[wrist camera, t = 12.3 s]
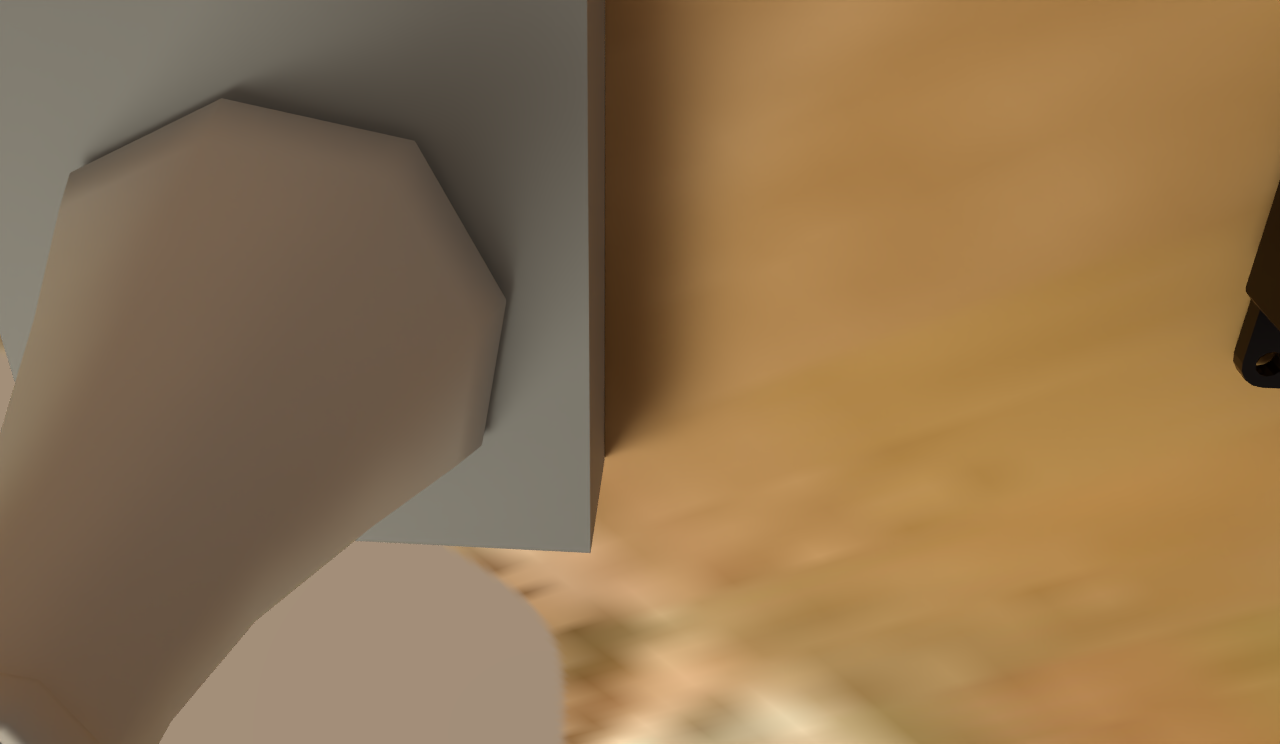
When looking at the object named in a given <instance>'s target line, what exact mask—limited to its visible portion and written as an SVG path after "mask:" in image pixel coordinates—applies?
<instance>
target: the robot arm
mask: <svg viewBox="0 0 1280 744" xmlns="http://www.w3.org/2000/svg"><path fill="white" fill-rule="evenodd" d="M1246 292H1247V294H1248V295H1249V297H1250V298H1251V301H1250V304H1249V307H1248V311H1247V314H1246V317H1245V320H1244V323H1243V326H1242V329H1241V332H1240V335H1239V338H1238V341H1237V345H1236V348H1235V351H1234V358H1233V362H1234V364H1235V366H1236V369H1237V370H1238V371H1239V373H1240V374H1241V375H1242V377H1243V378H1244V379H1245V380H1246V381H1247V382H1249V383H1250V384H1251V385H1253V386H1257V387H1262V388H1280V182H1279V185H1278V188H1277V191H1276V194H1275V197H1274V200H1273V204H1272V207H1271V210H1270V213H1269V216H1268V219H1267V222H1266V226H1265V229H1264V232H1263V235H1262V238H1261V241H1260V244H1259V247H1258V251H1257V254H1256V257H1255V260H1254V263H1253V266H1252V269H1251V273H1250V276H1249V279H1248V282H1247V285H1246ZM1271 352H1276V354H1275V356H1274V357H1273V359H1272V360H1271V361H1269V362H1268V363H1266V364H1263V365H1256V363H1257V361H1258V360H1259V358H1260V357H1262V356H1263V355H1265V354H1266V353H1271Z"/></svg>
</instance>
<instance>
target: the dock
mask: <svg viewBox="0 0 1280 744" xmlns="http://www.w3.org/2000/svg"><path fill="white" fill-rule="evenodd" d="M221 98H223V99H228V100H232V101H237V102H241V103H246V104H250V105H255V106H259V107H264V108H268V109H273V110H277V111H282V112H286V113H291V114H295V115H300V116H305V117H309V118H314V119H318V120H323V121H327V122H332V123H336V124H341V125H345V126H350V127H354V128H359V129H363V130H368V131H372V132H377V133H381V134H386V135H390V136H395V137H400V138H404V139H409V140H413V141H415V142H416V144H417V145H418V147H419V149H420V151H421V152H422V154H423V156H424V158H425V159H426V161H427V163H428V165H429V166H430V168H431V170H432V172H433V173H434V175H435V177H436V178H437V180H438V182H439V184H440V185H441V187H442V189H443V191H444V192H445V194H446V196H447V198H448V199H449V201H450V203H451V205H452V206H453V208H454V210H455V212H456V213H457V215H458V217H459V218H460V220H461V222H462V224H463V225H464V227H465V229H466V231H467V232H468V234H469V236H470V238H471V239H472V241H473V243H474V245H475V246H476V248H477V250H478V251H479V253H480V255H481V257H482V258H483V260H484V262H485V264H486V265H487V267H488V269H489V271H490V272H491V274H492V276H493V278H494V279H495V281H496V283H497V284H498V286H499V288H500V290H501V291H502V293H503V295H504V297H505V298H506V306H505V312H504V318H503V324H502V330H501V335H500V341H499V347H498V353H497V359H496V365H495V371H494V377H493V383H492V389H491V395H490V401H489V406H488V412H487V418H486V424H485V430H484V436H483V442H482V446H480V447H479V448H478V449H477V450H475V451H474V452H473V453H472V454H470V455H469V456H468V457H467V458H465V459H464V460H463V461H462V462H460V463H459V464H458V465H457V466H455V467H454V468H453V469H451V470H450V471H449V472H447V473H446V474H444V475H443V476H442V477H440V478H439V479H438V480H436V481H435V482H433V483H432V484H431V485H429V486H428V487H426V488H425V489H424V490H422V491H421V492H420V493H418V494H417V495H415V496H414V497H413V498H411V499H410V500H408V501H407V502H406V503H404V504H403V505H402V506H400V507H399V508H397V509H396V510H395V511H393V512H392V513H390V514H389V515H388V516H386V517H385V518H384V519H382V520H381V521H379V522H378V523H377V524H375V525H374V526H373V527H371V528H370V529H369V530H367V531H366V532H365V533H364V534H363V535H361V536H360V537H359V538H358V539H356V540H355V541H370V542H389V543H408V544H427V545H447V546H466V547H485V548H505V549H524V550H543V551H563V552H582V553H590V552H591V546H592V539H593V532H594V526H595V519H596V512H597V506H598V499H599V492H600V486H601V479H602V472H603V466H604V421H605V0H0V335H1V338H2V342H3V345H4V348H5V352H6V355H7V358H8V361H9V364H10V368H11V371H12V375H13V378H14V381H16V378H17V375H18V371H19V368H20V364H21V361H22V358H23V354H24V351H25V348H26V344H27V341H28V337H29V334H30V331H31V327H32V324H33V321H34V317H35V312H36V308H37V304H38V299H39V295H40V291H41V286H42V282H43V278H44V273H45V269H46V265H47V260H48V256H49V251H50V247H51V243H52V238H53V234H54V230H55V225H56V221H57V217H58V212H59V208H60V205H61V201H62V198H63V195H64V191H65V188H66V184H67V181H68V177H69V174H70V173H71V172H73V171H75V170H77V169H79V168H81V167H83V166H85V165H87V164H89V163H91V162H93V161H95V160H97V159H99V158H101V157H103V156H105V155H107V154H109V153H111V152H113V151H115V150H117V149H119V148H121V147H123V146H125V145H127V144H129V143H131V142H133V141H136V140H138V139H140V138H142V137H144V136H146V135H148V134H150V133H152V132H154V131H156V130H158V129H160V128H162V127H164V126H166V125H168V124H170V123H172V122H174V121H176V120H178V119H180V118H182V117H184V116H186V115H188V114H190V113H192V112H194V111H196V110H199V109H201V108H203V107H205V106H207V105H209V104H211V103H213V102H215V101H217V100H219V99H221Z"/></svg>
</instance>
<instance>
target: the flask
mask: <svg viewBox="0 0 1280 744" xmlns="http://www.w3.org/2000/svg"><path fill="white" fill-rule="evenodd" d="M505 306H506V298H505V297H504V295H503V293H502V291H501V290H500V288H499V286H498V284H497V283H496V281H495V279H494V278H493V276H492V274H491V272H490V271H489V269H488V267H487V265H486V264H485V262H484V260H483V258H482V257H481V255H480V253H479V251H478V250H477V248H476V246H475V245H474V243H473V241H472V239H471V238H470V236H469V234H468V232H467V231H466V229H465V227H464V225H463V224H462V222H461V220H460V218H459V217H458V215H457V213H456V212H455V210H454V208H453V206H452V205H451V203H450V201H449V199H448V198H447V196H446V194H445V192H444V191H443V189H442V187H441V185H440V184H439V182H438V180H437V178H436V177H435V175H434V173H433V172H432V170H431V168H430V166H429V165H428V163H427V161H426V159H425V158H424V156H423V154H422V152H421V151H420V149H419V147H418V145H417V144H416V142H415V141H413V140H409V139H404V138H400V137H395V136H390V135H386V134H381V133H377V132H372V131H368V130H363V129H359V128H354V127H350V126H345V125H341V124H336V123H332V122H327V121H323V120H318V119H314V118H309V117H305V116H300V115H295V114H291V113H286V112H282V111H277V110H273V109H268V108H264V107H259V106H255V105H250V104H246V103H241V102H237V101H232V100H228V99H223V98H221V99H219V100H217V101H215V102H213V103H211V104H209V105H207V106H205V107H203V108H201V109H199V110H196V111H194V112H192V113H190V114H188V115H186V116H184V117H182V118H180V119H178V120H176V121H174V122H172V123H170V124H168V125H166V126H164V127H162V128H160V129H158V130H156V131H154V132H152V133H150V134H148V135H146V136H144V137H142V138H140V139H138V140H136V141H133V142H131V143H129V144H127V145H125V146H123V147H121V148H119V149H117V150H115V151H113V152H111V153H109V154H107V155H105V156H103V157H101V158H99V159H97V160H95V161H93V162H91V163H89V164H87V165H85V166H83V167H81V168H79V169H77V170H75V171H73V172H71V173H70V174H69V177H68V181H67V184H66V188H65V191H64V195H63V198H62V201H61V205H60V208H59V212H58V217H57V221H56V225H55V230H54V234H53V238H52V243H51V247H50V251H49V256H48V260H47V265H46V269H45V273H44V278H43V282H42V286H41V291H40V295H39V299H38V304H37V308H36V312H35V317H34V321H33V324H32V327H31V331H30V334H29V337H28V341H27V344H26V348H25V351H24V354H23V358H22V361H21V364H20V368H19V371H18V375H17V378H16V381H15V385H14V388H13V391H12V395H11V398H10V402H9V405H8V408H7V412H6V415H5V419H4V422H3V425H2V429H1V432H0V744H159V742H160V740H161V738H162V737H163V735H164V733H165V731H166V730H167V728H168V726H169V724H170V722H171V721H172V720H173V718H174V717H175V716H176V715H177V714H178V713H179V711H180V710H181V709H182V708H183V707H184V705H185V704H186V703H187V702H188V700H189V699H190V698H191V697H192V696H193V695H194V693H195V692H196V691H197V690H198V689H199V688H200V686H201V685H202V684H203V683H204V682H205V680H206V679H207V678H208V677H209V675H210V674H211V673H212V672H213V671H214V670H215V669H216V667H217V666H218V665H219V664H220V663H221V661H222V660H223V659H224V658H225V657H226V656H227V654H228V653H229V652H230V651H231V650H232V648H233V647H234V646H235V645H236V644H237V642H238V641H239V640H240V639H241V638H242V636H243V635H244V634H245V633H246V632H247V631H248V629H249V628H250V627H251V626H252V625H253V623H254V622H255V621H256V620H258V619H259V618H260V617H261V616H262V615H264V614H265V613H266V612H267V611H269V610H270V609H271V608H272V607H274V606H275V605H276V604H277V603H278V602H280V601H281V600H282V599H283V598H285V597H286V596H287V595H288V594H290V593H291V592H292V591H293V590H295V589H296V588H297V587H298V586H300V585H301V584H302V583H303V582H304V581H306V580H307V579H308V578H309V577H311V576H312V575H313V574H314V573H316V572H317V571H318V570H319V569H320V568H322V567H323V566H324V565H325V564H327V563H328V562H329V561H330V560H332V559H333V558H334V557H335V556H336V555H338V554H339V553H340V552H342V551H343V550H344V549H345V548H346V547H348V546H349V545H350V544H351V543H353V542H354V541H355V540H356V539H358V538H359V537H360V536H361V535H363V534H364V533H365V532H366V531H367V530H369V529H370V528H371V527H373V526H374V525H375V524H377V523H378V522H379V521H381V520H382V519H384V518H385V517H386V516H388V515H389V514H390V513H392V512H393V511H395V510H396V509H397V508H399V507H400V506H402V505H403V504H404V503H406V502H407V501H408V500H410V499H411V498H413V497H414V496H415V495H417V494H418V493H420V492H421V491H422V490H424V489H425V488H426V487H428V486H429V485H431V484H432V483H433V482H435V481H436V480H438V479H439V478H440V477H442V476H443V475H444V474H446V473H447V472H449V471H450V470H451V469H453V468H454V467H455V466H457V465H458V464H459V463H460V462H462V461H463V460H464V459H465V458H467V457H468V456H469V455H470V454H472V453H473V452H474V451H475V450H477V449H478V448H479V447H480V446H482V442H483V436H484V430H485V424H486V418H487V412H488V406H489V401H490V395H491V389H492V383H493V377H494V371H495V365H496V359H497V353H498V347H499V341H500V335H501V330H502V324H503V318H504V312H505Z"/></svg>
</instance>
